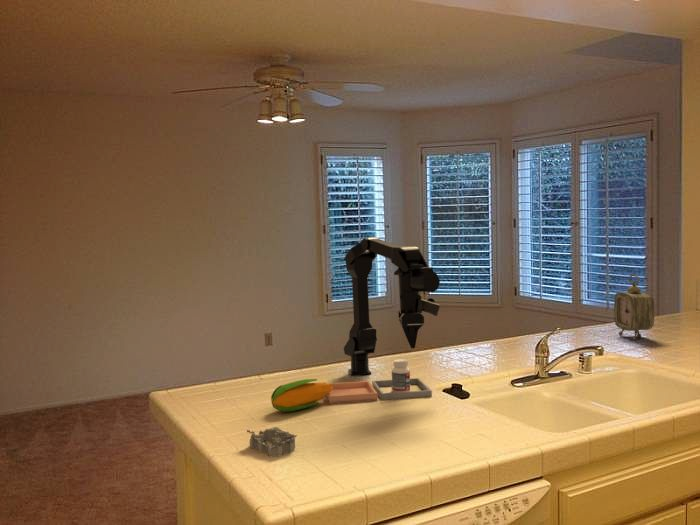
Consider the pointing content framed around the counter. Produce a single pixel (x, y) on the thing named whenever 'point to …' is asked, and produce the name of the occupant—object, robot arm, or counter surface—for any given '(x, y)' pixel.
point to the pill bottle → (400, 376)
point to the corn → (299, 395)
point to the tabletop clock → (634, 310)
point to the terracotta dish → (352, 392)
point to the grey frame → (396, 395)
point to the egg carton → (273, 441)
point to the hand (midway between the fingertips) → (411, 345)
